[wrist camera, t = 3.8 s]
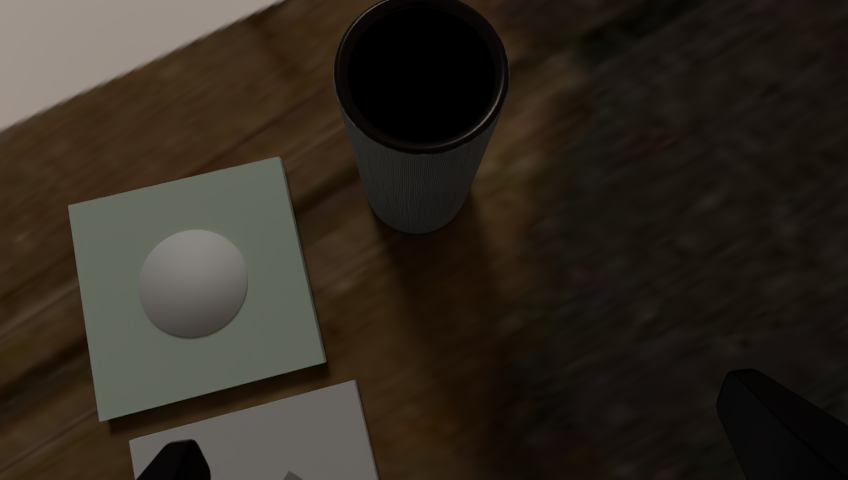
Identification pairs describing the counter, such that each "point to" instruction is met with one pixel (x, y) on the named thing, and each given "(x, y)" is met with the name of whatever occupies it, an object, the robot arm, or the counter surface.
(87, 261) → the pad
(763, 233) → the counter surface
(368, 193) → the grey cylinder
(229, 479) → the pad
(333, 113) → the counter surface
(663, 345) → the counter surface
